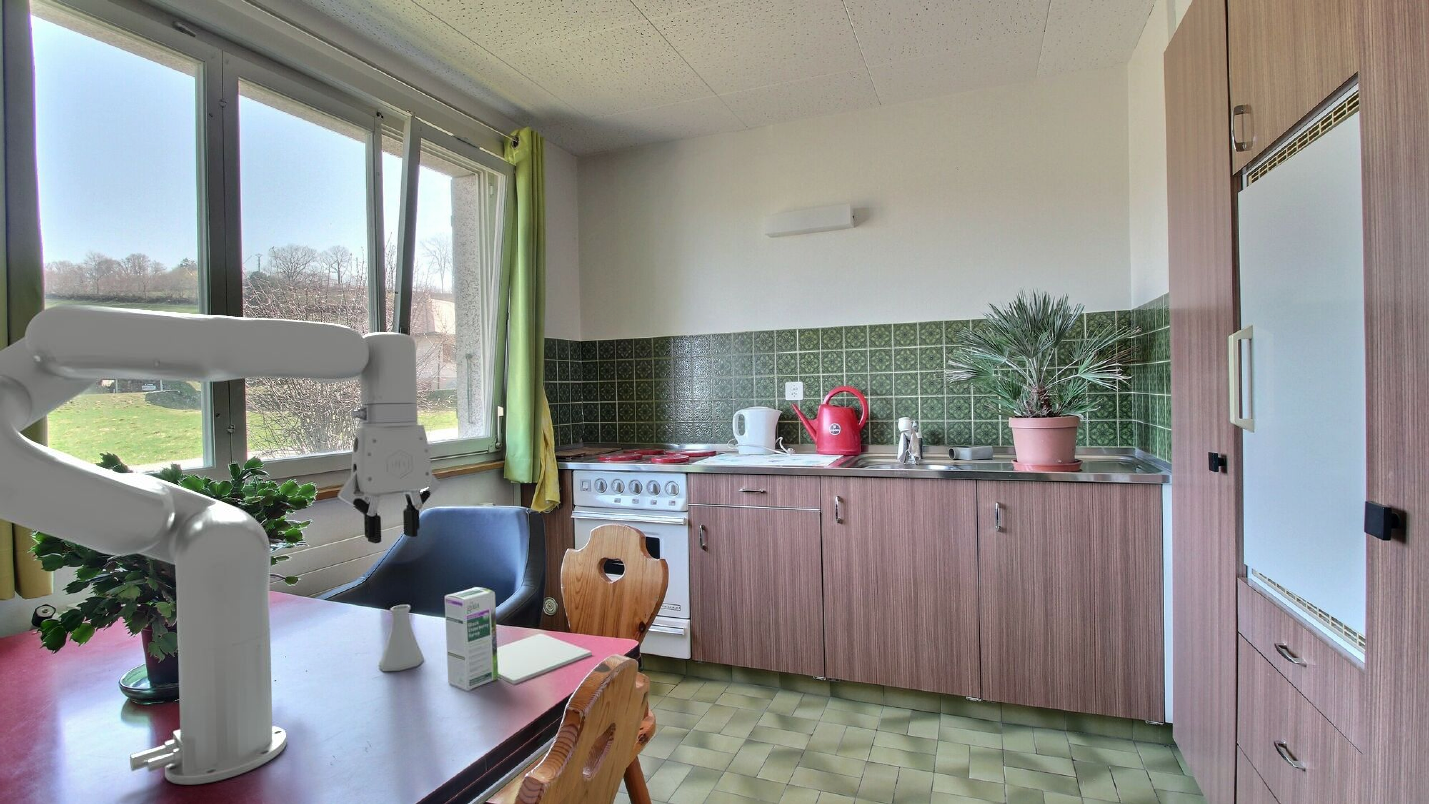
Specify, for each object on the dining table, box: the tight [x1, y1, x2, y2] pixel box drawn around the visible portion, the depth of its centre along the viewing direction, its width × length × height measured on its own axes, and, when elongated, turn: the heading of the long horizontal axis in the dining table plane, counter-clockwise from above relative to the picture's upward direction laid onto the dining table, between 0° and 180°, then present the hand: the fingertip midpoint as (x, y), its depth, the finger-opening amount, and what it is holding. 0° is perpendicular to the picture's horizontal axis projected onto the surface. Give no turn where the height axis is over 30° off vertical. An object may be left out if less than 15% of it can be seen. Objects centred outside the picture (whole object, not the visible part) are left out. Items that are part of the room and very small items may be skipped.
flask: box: [378, 604, 425, 672], centre depth 115 cm, size 7×7×10 cm
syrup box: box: [444, 586, 499, 692], centre depth 107 cm, size 6×6×14 cm
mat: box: [497, 633, 592, 685], centre depth 116 cm, size 16×16×1 cm
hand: (392, 537), depth 98 cm, fingers open, 4 cm apart
